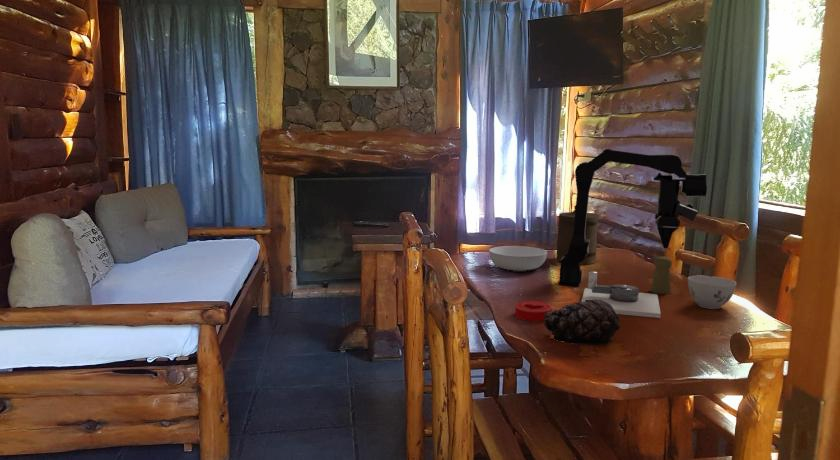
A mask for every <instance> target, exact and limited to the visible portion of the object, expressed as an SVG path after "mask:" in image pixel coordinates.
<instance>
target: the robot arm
mask: <svg viewBox="0 0 840 460" xmlns="http://www.w3.org/2000/svg"><path fill="white" fill-rule="evenodd" d="M611 162H612V163H619V164H624V165H633V166H638V167H639V166H640V167H646V168H650V169H652V170H653V169H654V170H656V171H659V172H657V174H656V175H655V176H654V177H653V181H655V182H656V181H657V182H658V181H659V184H658V197H657V209H656V211H655V212H654V221H655V225H656V228H657V231H658V234H659V238H660V241H661V244H662V247H663V249H667V250H668V248H669V245H670V243H671V240H672V235H673V233H674V232H676V231H677V230H678V229H680V227H681V221H680V219H679V217H680V216H681V217H682V218H685V219H687V220H688V221H691V222H694V221H695V220H696V218H697V215H698V214H699V211H698V210H697V209H694V206H693V204H691V203H689V202H687V203H686V204H681V201H680V199H679V197H680V196H679V195H680V191H681V193H682V194H684V197H697V198H706V196H707V192H708V191H707V189H708V186H707V174H705V173H700V174H691V173H690V174H687V171H685V169H684V168H683V167H682V166H683V162H682V159H681V158H680V157H679V156H678V155H676V154H673V153H667V154H666V153H665V154H664V153H663V154H645V153H638V152H630V151H624V150H623V151H622V150H615V149H612V148H606V149H604V150H603V151H602V152H601V153H600V154H598V155H596V156H595V157H593V158H592V159H591V160H589V161H584V162H581V163H579V164H578V165H577V166H576V168H575V170H574V173H575V174H574V175H575V177H574V178H575V185H576V201H575V205H576V209H575V208H574V210H575V220H574V230H573V236H572V239H571V242H570V246H569V249H568V252H567V253H566V254H565V255H564V256H563V257H562V259H561V261H560V264H559V265H560V266H559V280H558V285H561V286H571V287H579V286H580V284H582V279H583V269H582V268H581V267H582V266H581V265H578V264H579V263H580V262H582V261H583V260H584V259H585V257H586V254H587V255H588V253H589V242H590V239H586V236H585V230H586V219H587V213H588V209H589V208H588V207H589V197H590V190H591V186H592V184H593V180H594V177H595V173H596V172H597V171H598V170H600V169H601V168H602V167H604V166H605V165H606V164H607V163H611ZM661 172H662V173H666V174H665V175H664V174H662V173H661ZM667 174H668V175H667ZM673 174H674V175H675V176H676V177H678V178H673ZM680 183H681V185H680ZM680 186H681V187H680ZM680 188H681V189H680Z"/></svg>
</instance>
